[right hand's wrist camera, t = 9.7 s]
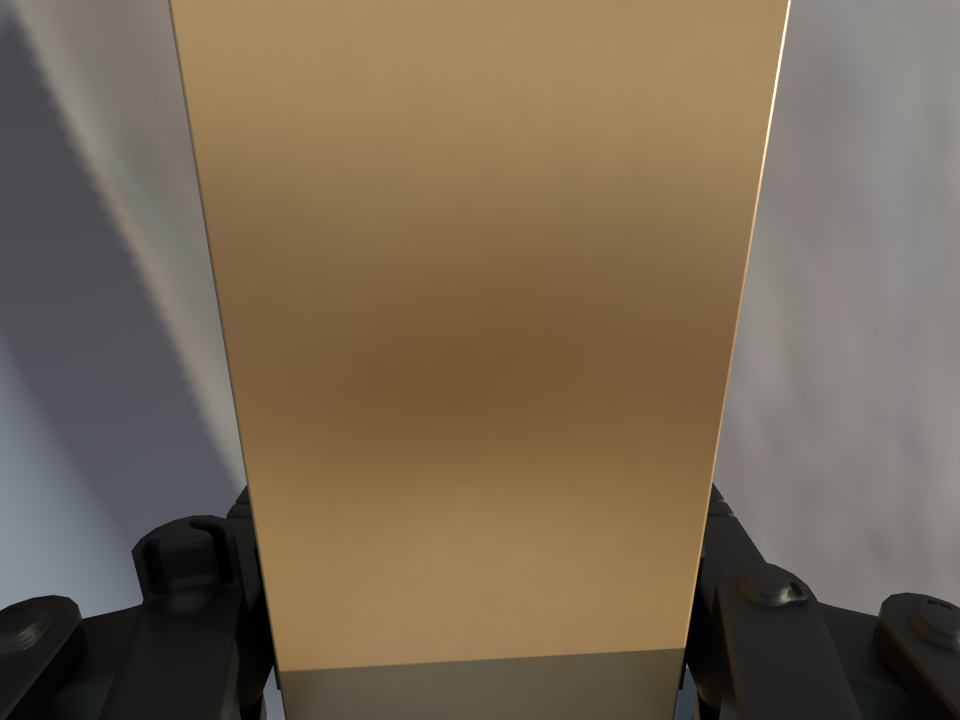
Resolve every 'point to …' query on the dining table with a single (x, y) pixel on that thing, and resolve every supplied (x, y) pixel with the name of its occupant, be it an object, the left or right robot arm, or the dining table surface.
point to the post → (479, 332)
